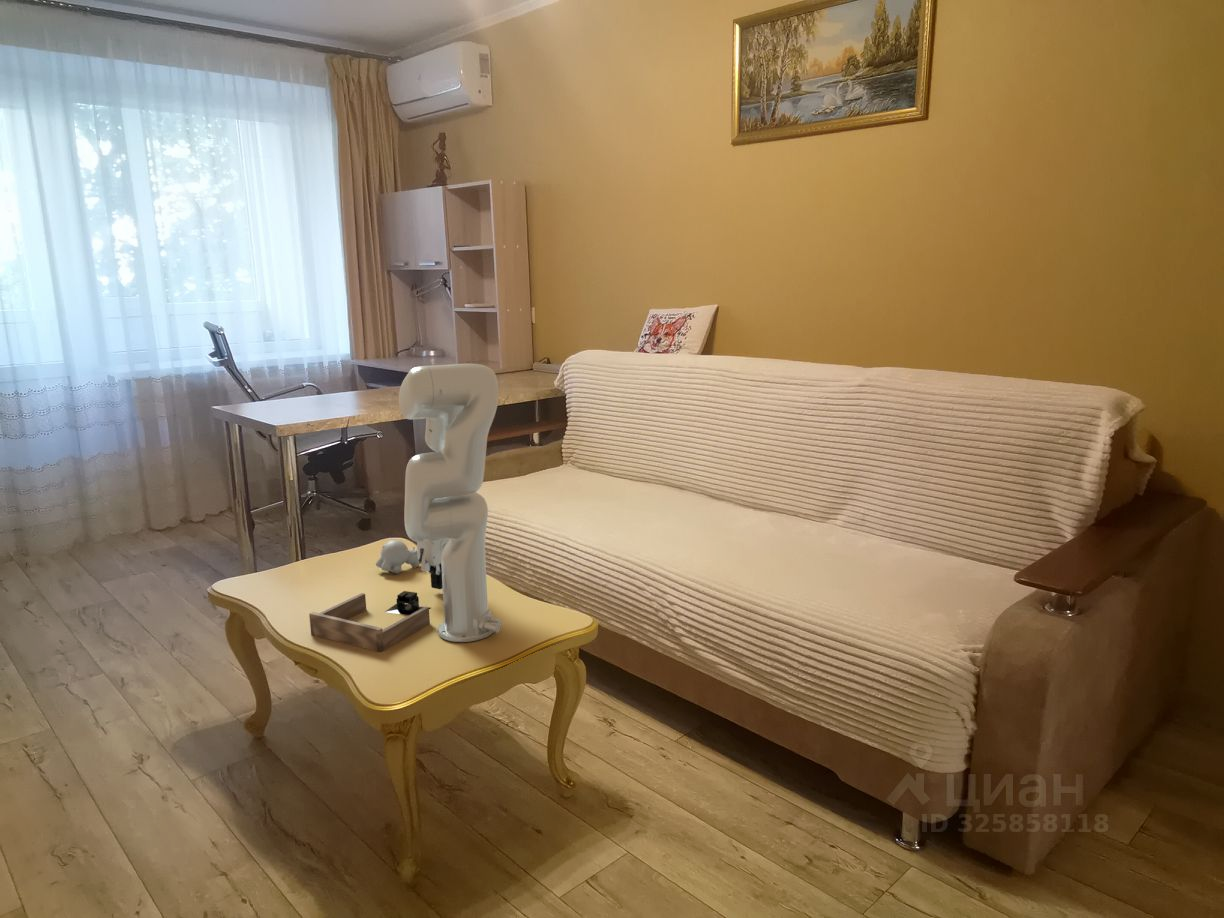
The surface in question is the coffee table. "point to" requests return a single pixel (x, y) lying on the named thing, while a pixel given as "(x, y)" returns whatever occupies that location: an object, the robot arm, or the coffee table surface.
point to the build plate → (404, 608)
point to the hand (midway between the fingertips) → (438, 587)
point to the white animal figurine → (396, 556)
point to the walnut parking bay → (363, 625)
